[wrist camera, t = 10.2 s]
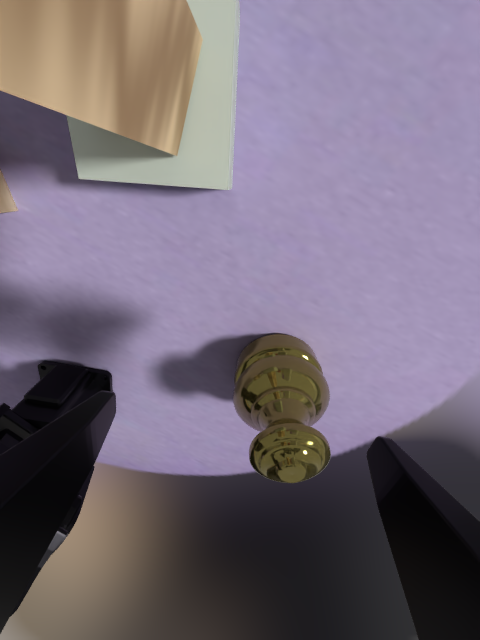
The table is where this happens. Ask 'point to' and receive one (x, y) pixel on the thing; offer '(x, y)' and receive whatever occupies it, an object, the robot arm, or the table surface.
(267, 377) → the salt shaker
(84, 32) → the oak pillar
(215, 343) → the table surface
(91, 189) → the table surface
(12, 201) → the beech cube
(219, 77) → the base block
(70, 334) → the table surface
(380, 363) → the table surface
